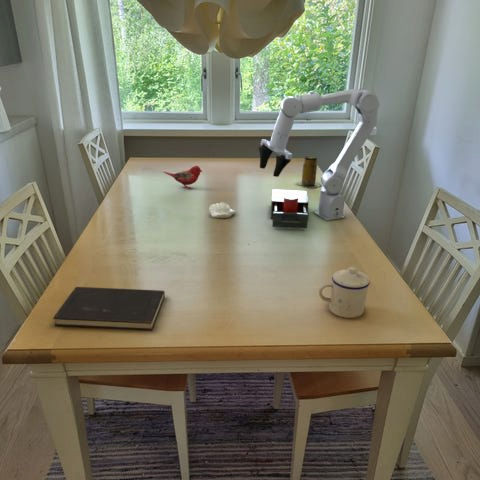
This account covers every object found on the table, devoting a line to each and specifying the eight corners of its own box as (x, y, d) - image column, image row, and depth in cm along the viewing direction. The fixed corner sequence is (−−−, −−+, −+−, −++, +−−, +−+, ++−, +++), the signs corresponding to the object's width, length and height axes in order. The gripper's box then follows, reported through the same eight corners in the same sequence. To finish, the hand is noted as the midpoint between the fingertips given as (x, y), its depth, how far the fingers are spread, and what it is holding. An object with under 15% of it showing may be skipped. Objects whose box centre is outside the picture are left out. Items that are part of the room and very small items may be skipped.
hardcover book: (152, 330, 111) (151, 322, 110) (54, 326, 112) (52, 317, 111) (164, 297, 125) (164, 289, 124) (77, 293, 126) (76, 285, 125)
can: (299, 220, 171) (301, 198, 166) (286, 222, 169) (288, 199, 165) (292, 215, 174) (293, 194, 170) (279, 217, 173) (281, 195, 168)
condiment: (308, 181, 219) (310, 154, 212) (322, 186, 213) (325, 158, 207) (296, 184, 215) (299, 156, 209) (310, 188, 209) (313, 160, 203)
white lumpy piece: (205, 199, 180) (230, 197, 183) (206, 210, 182) (230, 208, 185) (212, 207, 172) (238, 205, 175) (212, 219, 174) (238, 217, 177)
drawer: (307, 232, 163) (309, 218, 161) (272, 231, 164) (273, 216, 161) (304, 215, 178) (306, 201, 175) (272, 214, 179) (273, 200, 176)
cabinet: (306, 220, 176) (308, 202, 172) (270, 218, 176) (271, 201, 173) (304, 207, 188) (306, 190, 184) (271, 206, 188) (272, 189, 185)
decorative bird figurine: (201, 191, 203) (201, 167, 198) (162, 187, 207) (161, 163, 202) (203, 189, 205) (203, 165, 200) (165, 185, 209) (164, 161, 204)
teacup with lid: (360, 301, 125) (367, 260, 119) (367, 319, 118) (376, 277, 112) (314, 300, 125) (319, 259, 119) (319, 318, 118) (324, 275, 112)
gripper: (259, 125, 167) (248, 163, 173) (287, 139, 158) (274, 179, 165) (273, 127, 171) (262, 165, 178) (301, 141, 163) (288, 180, 170)
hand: (268, 172), depth 172 cm, fingers open, 7 cm apart
